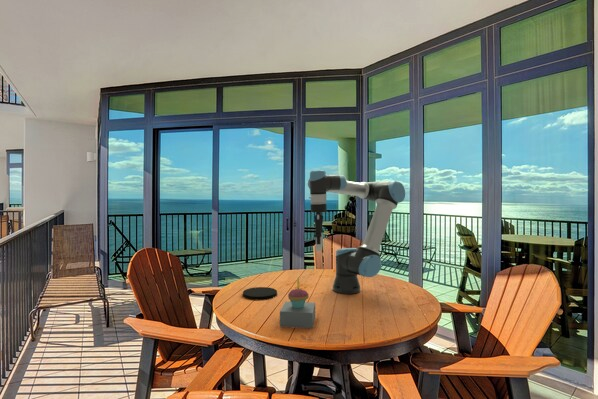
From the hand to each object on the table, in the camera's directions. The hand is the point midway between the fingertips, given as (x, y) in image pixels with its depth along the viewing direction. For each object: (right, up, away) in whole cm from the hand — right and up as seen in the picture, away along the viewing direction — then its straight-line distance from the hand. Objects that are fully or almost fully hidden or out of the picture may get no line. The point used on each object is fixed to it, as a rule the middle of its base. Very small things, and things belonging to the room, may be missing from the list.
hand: (319, 248), depth 160 cm
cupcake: (-10, -21, -19) cm, 30 cm away
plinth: (-10, -27, -20) cm, 35 cm away
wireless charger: (-30, -27, +18) cm, 45 cm away
